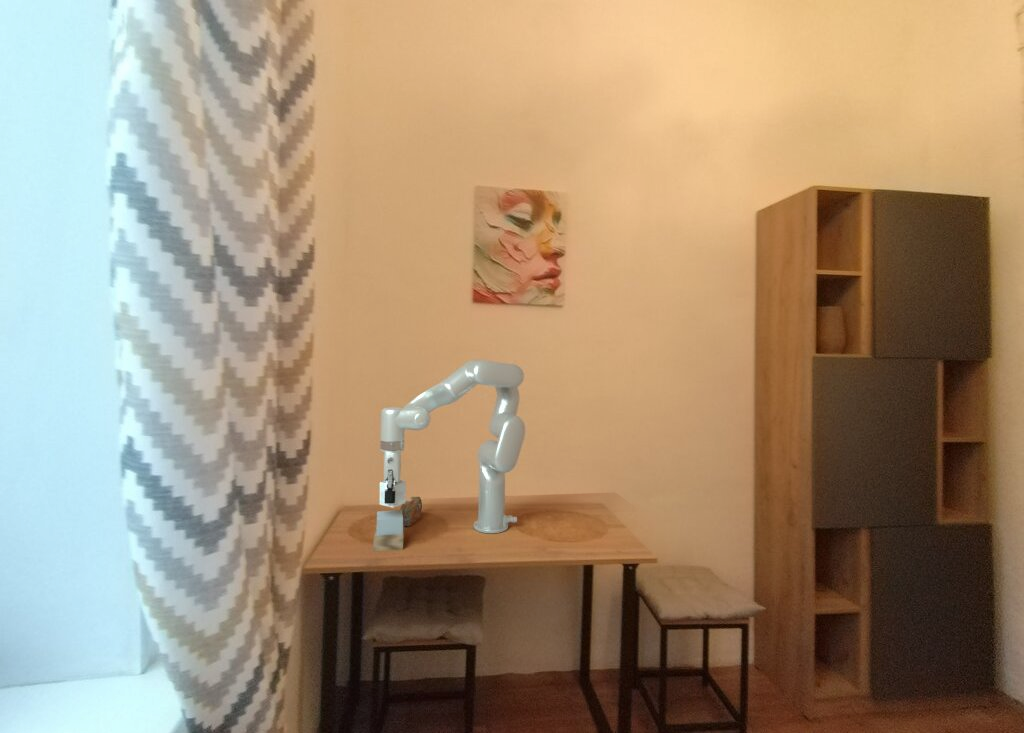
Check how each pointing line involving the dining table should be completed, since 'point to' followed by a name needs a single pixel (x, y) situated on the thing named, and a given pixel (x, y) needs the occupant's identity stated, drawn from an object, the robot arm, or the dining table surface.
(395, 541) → the block
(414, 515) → the tin
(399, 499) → the skincare box
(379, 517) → the tower top
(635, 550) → the dining table surface
